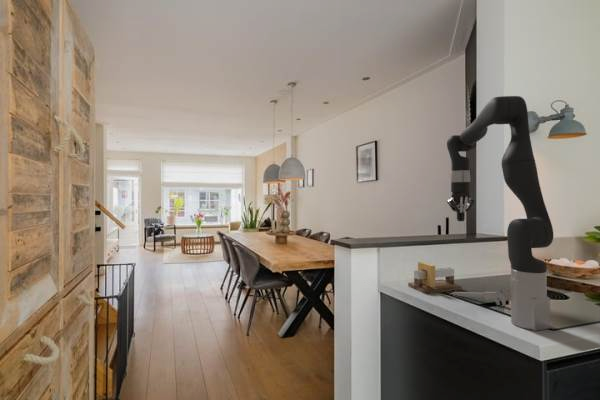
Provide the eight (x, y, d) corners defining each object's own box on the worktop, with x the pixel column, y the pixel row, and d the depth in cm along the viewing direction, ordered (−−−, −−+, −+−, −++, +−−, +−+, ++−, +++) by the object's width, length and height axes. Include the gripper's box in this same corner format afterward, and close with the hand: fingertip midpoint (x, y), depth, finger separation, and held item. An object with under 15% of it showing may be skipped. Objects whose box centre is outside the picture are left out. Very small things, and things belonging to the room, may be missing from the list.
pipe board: (461, 289, 142) (461, 278, 142) (425, 293, 137) (425, 282, 137) (442, 282, 154) (442, 272, 154) (408, 286, 149) (408, 275, 149)
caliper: (505, 307, 121) (505, 290, 121) (504, 308, 120) (504, 290, 120) (451, 294, 137) (451, 279, 137) (449, 295, 136) (449, 279, 136)
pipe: (454, 276, 146) (454, 268, 146) (418, 279, 142) (418, 272, 141) (449, 274, 150) (448, 267, 149) (414, 278, 145) (413, 270, 145)
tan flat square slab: (435, 287, 140) (435, 265, 140) (431, 287, 140) (431, 266, 140) (422, 281, 149) (421, 261, 149) (418, 282, 149) (417, 261, 148)
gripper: (453, 181, 139) (454, 222, 140) (479, 180, 143) (480, 221, 143) (441, 181, 147) (442, 221, 147) (466, 181, 150) (466, 220, 151)
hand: (460, 221), depth 145 cm, fingers closed
